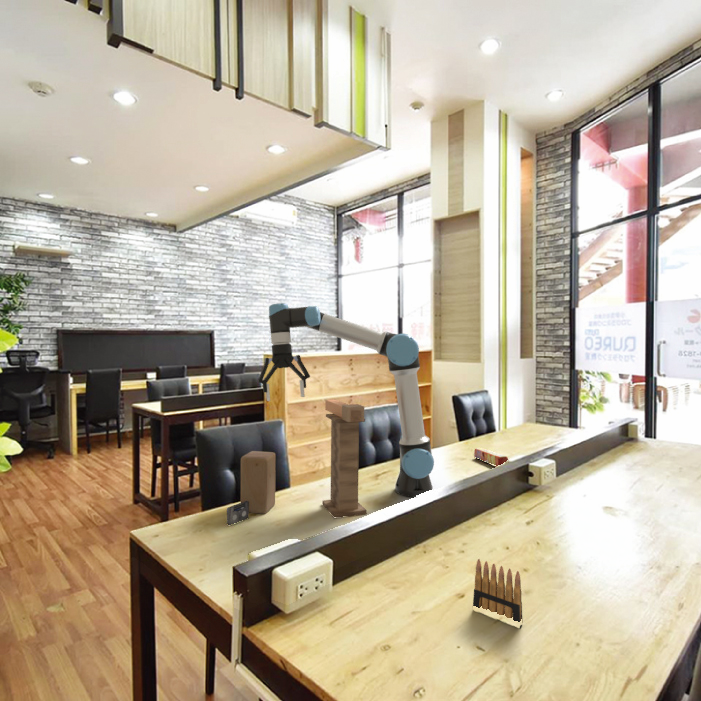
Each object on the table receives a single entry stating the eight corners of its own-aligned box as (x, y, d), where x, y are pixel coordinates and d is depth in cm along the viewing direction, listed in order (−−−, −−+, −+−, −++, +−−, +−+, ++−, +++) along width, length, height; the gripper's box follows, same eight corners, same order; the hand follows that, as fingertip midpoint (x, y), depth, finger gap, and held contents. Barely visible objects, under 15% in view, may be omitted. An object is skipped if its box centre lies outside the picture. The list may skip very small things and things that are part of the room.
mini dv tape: (245, 517, 158) (245, 500, 158) (248, 518, 157) (248, 501, 157) (226, 525, 152) (226, 507, 151) (229, 526, 151) (229, 508, 151)
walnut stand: (322, 504, 171) (323, 414, 170) (352, 500, 175) (353, 412, 175) (334, 518, 158) (335, 420, 157) (366, 514, 162) (367, 418, 162)
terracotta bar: (322, 409, 181) (323, 397, 181) (337, 409, 183) (337, 396, 183) (347, 422, 155) (348, 407, 155) (364, 421, 157) (364, 406, 157)
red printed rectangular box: (472, 459, 240) (473, 446, 240) (483, 458, 242) (483, 445, 242) (497, 470, 220) (498, 456, 220) (509, 469, 222) (509, 455, 222)
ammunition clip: (472, 610, 105) (473, 559, 104) (475, 607, 106) (476, 556, 106) (519, 629, 98) (521, 574, 98) (522, 625, 100) (523, 570, 99)
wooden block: (265, 515, 160) (266, 458, 160) (239, 512, 162) (239, 456, 162) (276, 505, 170) (276, 451, 170) (250, 502, 172) (251, 450, 172)
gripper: (309, 342, 185) (313, 394, 185) (247, 346, 175) (251, 401, 175) (315, 341, 178) (319, 395, 178) (250, 345, 168) (255, 403, 168)
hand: (285, 398), depth 176 cm, fingers open, 13 cm apart
